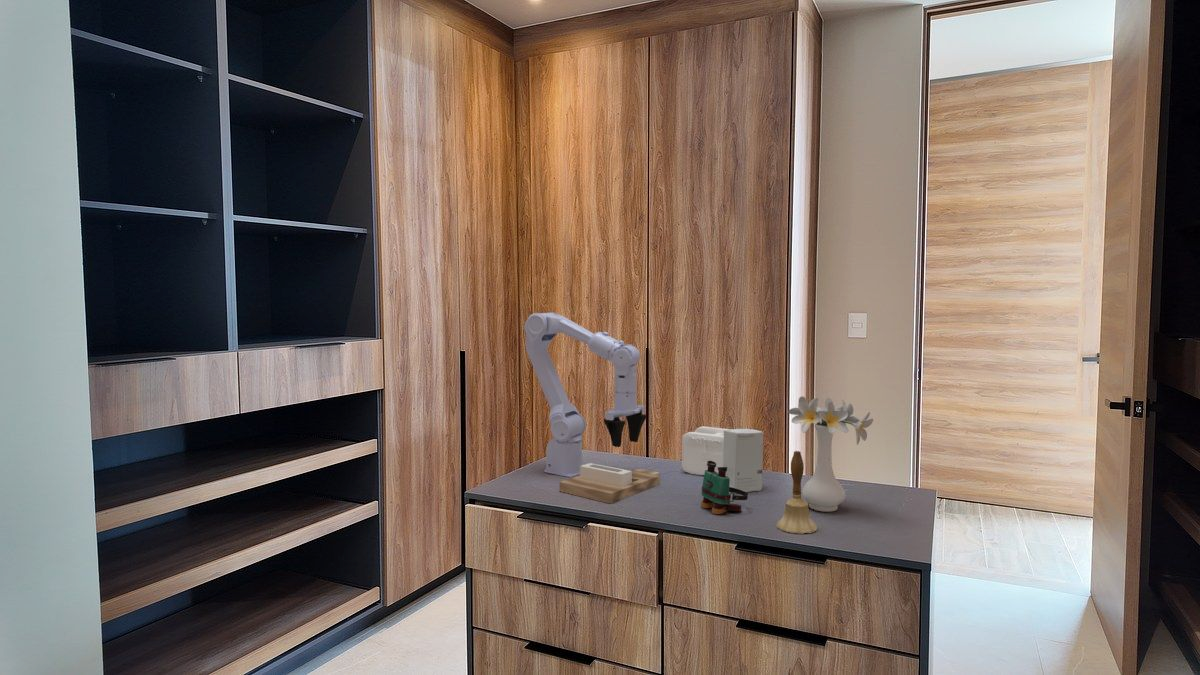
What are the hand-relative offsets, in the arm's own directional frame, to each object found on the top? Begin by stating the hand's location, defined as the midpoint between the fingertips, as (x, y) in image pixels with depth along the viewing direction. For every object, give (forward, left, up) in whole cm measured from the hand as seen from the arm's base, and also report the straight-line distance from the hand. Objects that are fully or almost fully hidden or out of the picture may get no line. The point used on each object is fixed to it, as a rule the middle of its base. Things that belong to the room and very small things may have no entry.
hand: (625, 443), depth 183 cm
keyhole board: (+2, -9, -9) cm, 13 cm away
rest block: (+4, +4, -9) cm, 11 cm away
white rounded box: (+15, +20, -10) cm, 27 cm away
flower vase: (+50, +9, -10) cm, 52 cm away
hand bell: (+50, -8, -10) cm, 52 cm away
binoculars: (+32, -6, -10) cm, 34 cm away
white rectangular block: (+2, -11, -9) cm, 14 cm away
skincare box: (+28, +11, -10) cm, 32 cm away
